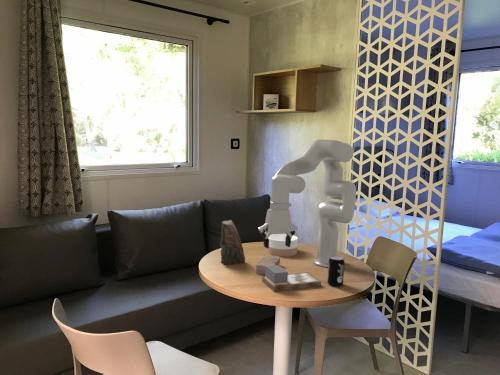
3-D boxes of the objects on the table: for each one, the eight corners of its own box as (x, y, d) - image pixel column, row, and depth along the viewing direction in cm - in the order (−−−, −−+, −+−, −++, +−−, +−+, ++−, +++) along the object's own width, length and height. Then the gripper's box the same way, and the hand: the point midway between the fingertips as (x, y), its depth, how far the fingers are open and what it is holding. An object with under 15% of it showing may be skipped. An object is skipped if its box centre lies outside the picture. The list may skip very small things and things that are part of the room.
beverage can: (333, 288, 165) (335, 260, 163) (324, 282, 170) (325, 255, 169) (346, 286, 167) (347, 259, 166) (336, 280, 173) (338, 254, 172)
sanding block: (278, 276, 170) (278, 265, 170) (287, 283, 162) (287, 271, 161) (265, 277, 168) (265, 266, 167) (274, 285, 160) (274, 273, 159)
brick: (272, 276, 177) (273, 266, 176) (254, 274, 179) (255, 264, 178) (280, 265, 193) (280, 256, 192) (263, 263, 195) (264, 254, 194)
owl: (224, 266, 187) (225, 225, 185) (211, 259, 198) (212, 220, 195) (246, 262, 194) (247, 223, 192) (233, 255, 205) (234, 218, 202)
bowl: (281, 245, 228) (282, 231, 227) (303, 253, 215) (304, 238, 213) (259, 250, 217) (260, 235, 216) (281, 258, 204) (281, 242, 203)
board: (307, 276, 177) (307, 271, 177) (321, 286, 166) (321, 281, 166) (262, 281, 169) (262, 276, 169) (273, 291, 158) (273, 286, 158)
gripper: (293, 204, 168) (291, 243, 170) (256, 205, 161) (254, 245, 163) (302, 207, 161) (299, 248, 163) (263, 208, 154) (261, 250, 156)
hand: (277, 246), depth 163 cm, fingers open, 9 cm apart
